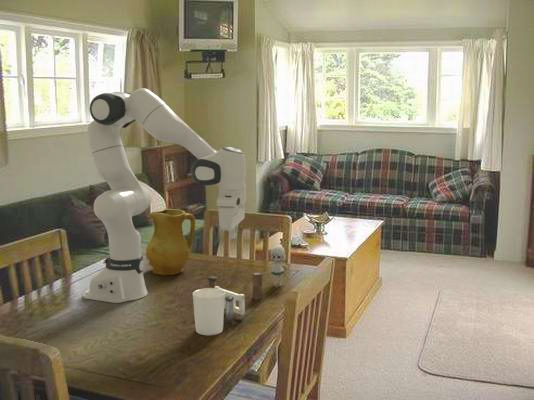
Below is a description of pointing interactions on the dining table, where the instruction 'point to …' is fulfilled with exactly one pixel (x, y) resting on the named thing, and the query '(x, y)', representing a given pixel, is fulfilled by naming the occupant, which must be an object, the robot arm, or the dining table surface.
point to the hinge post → (212, 281)
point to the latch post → (229, 309)
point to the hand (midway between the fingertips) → (233, 238)
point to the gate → (237, 297)
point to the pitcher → (169, 242)
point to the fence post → (257, 285)
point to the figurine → (278, 262)
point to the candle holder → (209, 310)
